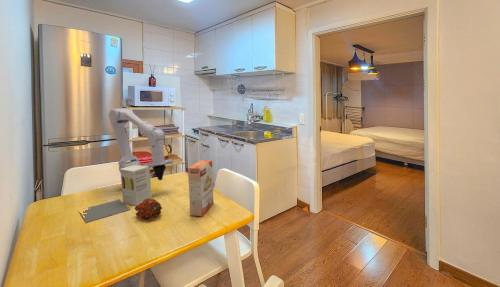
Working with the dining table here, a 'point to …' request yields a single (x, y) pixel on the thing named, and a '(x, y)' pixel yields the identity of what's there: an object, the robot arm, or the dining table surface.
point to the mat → (104, 210)
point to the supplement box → (135, 184)
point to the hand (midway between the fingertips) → (160, 179)
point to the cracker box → (200, 187)
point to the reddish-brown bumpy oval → (148, 208)
